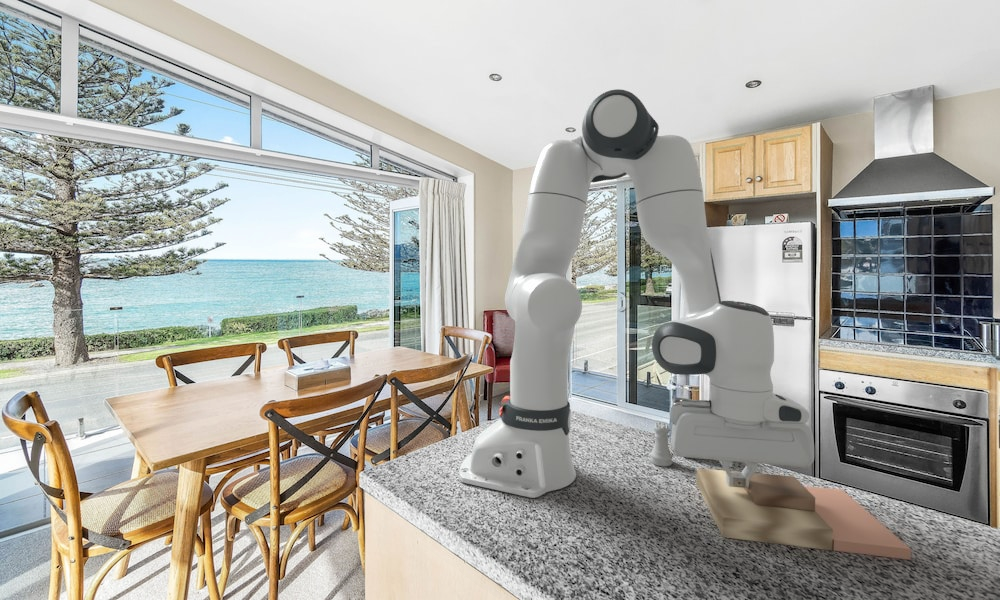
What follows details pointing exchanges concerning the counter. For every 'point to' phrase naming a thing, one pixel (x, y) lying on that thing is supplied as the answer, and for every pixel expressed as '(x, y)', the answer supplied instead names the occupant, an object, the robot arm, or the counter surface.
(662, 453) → the rook chess piece
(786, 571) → the counter surface
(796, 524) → the oak board
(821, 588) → the counter surface
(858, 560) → the counter surface
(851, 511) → the salmon pink pad
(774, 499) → the walnut tile
